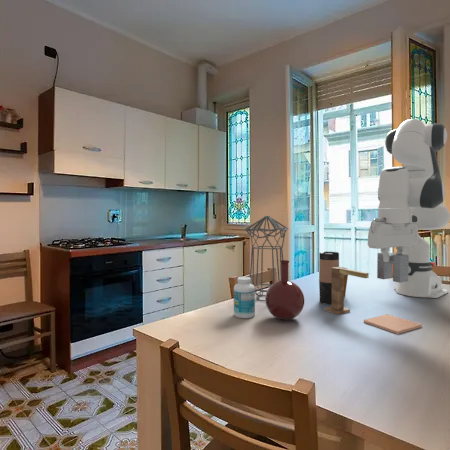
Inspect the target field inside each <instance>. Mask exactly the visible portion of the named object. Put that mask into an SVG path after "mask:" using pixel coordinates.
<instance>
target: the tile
mask: <svg viewBox="0 0 450 450" xmlns="http://www.w3.org/2000/svg"><path fill="white" fill-rule="evenodd" d="M363 323H365V324H367V325H370V326H373V327H376V328H379V329H382V330H385V331H386V332H387V331H388V332H390V333H394V334H397V335H400V334H402V333H406V332H409V331H412V330H416V329H420V328H422V327H423V324H422V323H418V322H415V321H411V320H408V319H405V318H401V317H398V316H396V315H395V316H394V315H391V314H381V315H378V316H373V317H371V318H367V319H364V320H363Z"/></svg>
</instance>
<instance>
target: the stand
mask: <svg viewBox="0 0 450 450" xmlns="http://www.w3.org/2000/svg"><path fill="white" fill-rule="evenodd" d="M341 267H342V266H339V267H332V305H330V306H326V307H325V311H326V312H329V313H332V314H334V315H342V314H343V315H344V314H347V313H350V312H351V309H350V308H347V307H345V303H344V302H345V297H344V274H346V275H348V276H350V277H351V276H353V277H356V278H362V279H369V272H365V271H358V270H354V269H349V268H348V269H344V268H345V267H344V268H341Z"/></svg>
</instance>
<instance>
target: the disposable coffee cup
mask: <svg viewBox="0 0 450 450" xmlns="http://www.w3.org/2000/svg"><path fill="white" fill-rule="evenodd" d="M340 267H341V268H344V269H349V268H348V267H344V266H340ZM348 277H349V275H346V274H344V298H346V292H347V285H348Z"/></svg>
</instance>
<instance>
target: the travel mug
mask: <svg viewBox="0 0 450 450" xmlns="http://www.w3.org/2000/svg"><path fill="white" fill-rule="evenodd" d="M318 254H319V257H318V260H319V262H318V263H319V264H318V267H319V269H318V270H319V271H318V286H319V287H318V289H319V290H318V291H319V303H321V304H322V305H326V306H327V305H328V306H332V267H340V253H339V252H337V251H324V252H319V253H318Z"/></svg>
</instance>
